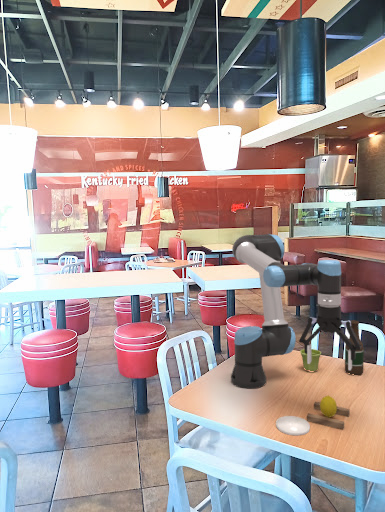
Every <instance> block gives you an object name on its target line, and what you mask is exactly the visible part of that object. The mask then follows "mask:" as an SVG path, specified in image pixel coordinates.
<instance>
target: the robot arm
mask: <svg viewBox="0 0 385 512" xmlns="http://www.w3.org/2000/svg"><path fill="white" fill-rule="evenodd" d="M231 249H232V256H234V257H233V258H235V260H236V261H238V262H239V263H241V264H246V265H248V266H249V267H250V268H251V269H253V270H254V271H256V272H258V275H259V282H260V283H259V284H260V292H261V293H260V294H261V301H262V308H263V309H262V310H263V318H264V322H263V323H262V324H261V327H260V326H258V325H256V326H255V325H253V326H252V325H250V326H244V327H240V328H239V329H237V330H236V331H235V333H234V340H233V342H234V343H233V344H234V365H233V369H232V372H231V374H230V382H231V384H232V383H233V384H232V385H233V386H235V385H236V387H238V388H242V389H258V388H261V387H263V385H264V384H265V383H266V384H267V376H266V373H265V370H264V367H263V358H265V357H273V356H284V355H288V354H290V353H292V352H293V350H294V349H295V347H296V341H297V338H296V333H295V331H294V329H293V327H291V326H290V325H289V322H288V321H287V320H286V319H285V315H284V308H283V299H282V291H281V288H282V287H283V288H284V287H292V286H293V287H294V286H308V285H309V286H310V285H311V286H312V285H313V286H317V304H318V305H317V318H316V317H314V316H310V317H309V318H308V320H307V325H306V327H305V328H304V329H303V332H302V334H301V336H300V338H299V340H298V342H299V343H302V344H303V345H304V346H303V347H304V349H305V353H306V354H307V364H310V363H311V349H312V343H310V342H311V341H312V340H314V339H315V337H316V336H317V335H318V334H319V333H321V332H322V331H323V332H324V333H331V334H334V333H335V334H336V335H337V336H339V338H340V339H341V340H342V341H343V342H344V344H345V345H347V346H348V347H349V348H350V349H349V351H348V370H351V369H352V360H355V351H356V350H360V349H361V344H360V342H359V340H358V338H357V336H356V335H355V333H354V331H353V329H352V326H351V321H352V320H350V319H347V320H342V307H341V304H342V265H341V264H342V263H341V261H339V260H337V259H320V260H319V261H318V262H317V264H315V263H312V262H311V263H310V262H305V263H301V264H282V262H281V259H283V258H284V256H285V246H284V242H283V240H282V238H281V237H280V236H279V235H277V234H270V233H266V234H246V235H243V236H240V237H238V238H237V239H236V240H235V242H234V243H233V244H232V248H231ZM315 323H316V324H317V325H318V327H317V329H315V330H314V332H313V333H312V334H311V335H310V336H309V337H308V338H307V335H308V334H309V332H310V330H311V328H312V326H313V325H314V324H315ZM341 326H344V328H346V331H347V332H348V335H349V336H347V335H346V334H345V332H344V331H343V329H342V328H341ZM349 337H351V339H352V341H353V343H354V345H355V346H354V345H353V343H352V342H351V341H350V340H349ZM306 338H307V339H306ZM266 384H265V385H266ZM265 385H264V386H265Z"/></svg>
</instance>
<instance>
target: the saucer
mask: <svg viewBox="0 0 385 512" xmlns="http://www.w3.org/2000/svg"><path fill="white" fill-rule="evenodd" d="M275 427H276V429H277V430H278V431H279V432H281V433H283V434H285V435H288V436H304V435H306V434H308V433H309V432H310V429H311V425H310V422H308V421H307V419H305V418H303V417H300V416H294V415H284V416H281V417H279V418H277V420H276V421H275Z"/></svg>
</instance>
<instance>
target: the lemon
mask: <svg viewBox="0 0 385 512" xmlns="http://www.w3.org/2000/svg"><path fill="white" fill-rule="evenodd" d="M319 403H320V409H321V411H320V412H321V414H322V415H323V416H324V417H327V418H332V417H334V416H335V415H336V414H335V413H336V411H337V407H338V405H337V402H336V400H335V399H334V397H332V396H330V395H325V396H324V397H322V398H321V400H320V402H319Z"/></svg>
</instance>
